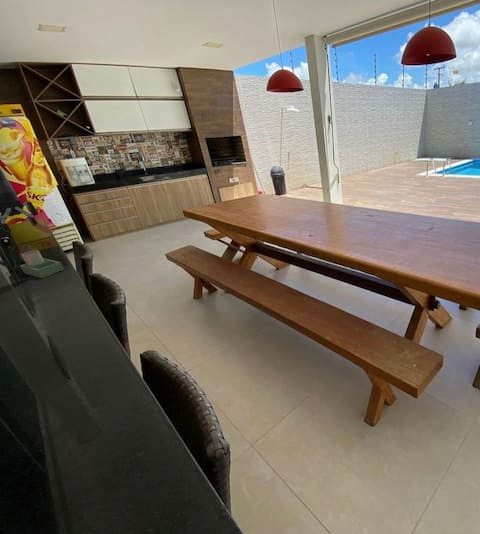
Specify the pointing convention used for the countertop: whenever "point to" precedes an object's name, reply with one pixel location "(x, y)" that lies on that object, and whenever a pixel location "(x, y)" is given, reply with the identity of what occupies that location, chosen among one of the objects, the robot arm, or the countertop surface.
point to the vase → (24, 250)
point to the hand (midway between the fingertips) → (22, 228)
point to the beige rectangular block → (33, 258)
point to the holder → (43, 268)
